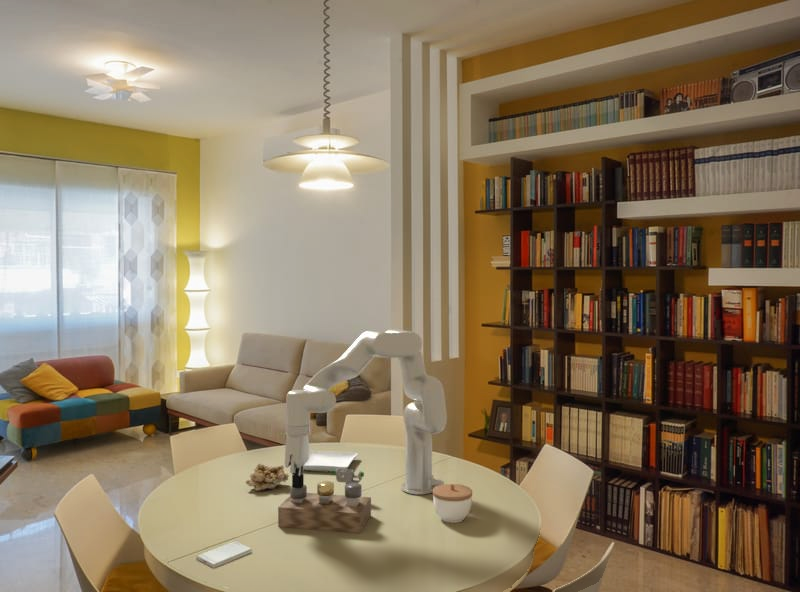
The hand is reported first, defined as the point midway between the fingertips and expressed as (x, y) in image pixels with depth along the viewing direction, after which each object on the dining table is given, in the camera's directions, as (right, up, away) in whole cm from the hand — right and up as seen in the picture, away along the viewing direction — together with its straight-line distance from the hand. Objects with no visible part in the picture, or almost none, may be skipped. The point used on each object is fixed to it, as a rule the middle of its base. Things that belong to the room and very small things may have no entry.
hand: (297, 486), depth 200 cm
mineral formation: (-15, -10, +30) cm, 35 cm away
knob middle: (+9, -6, -1) cm, 11 cm away
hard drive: (-16, -12, -26) cm, 33 cm away
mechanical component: (+15, -10, +18) cm, 25 cm away
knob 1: (0, -8, 0) cm, 8 cm away
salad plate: (+3, -9, +57) cm, 58 cm away
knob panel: (+9, -10, -1) cm, 14 cm away
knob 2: (+18, -7, -3) cm, 19 cm away
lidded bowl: (+49, -11, +1) cm, 50 cm away
